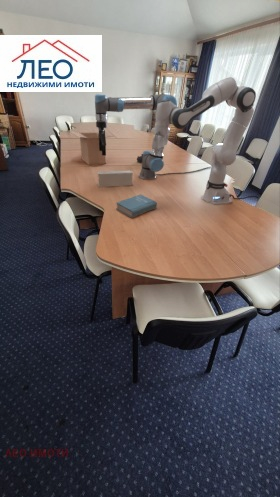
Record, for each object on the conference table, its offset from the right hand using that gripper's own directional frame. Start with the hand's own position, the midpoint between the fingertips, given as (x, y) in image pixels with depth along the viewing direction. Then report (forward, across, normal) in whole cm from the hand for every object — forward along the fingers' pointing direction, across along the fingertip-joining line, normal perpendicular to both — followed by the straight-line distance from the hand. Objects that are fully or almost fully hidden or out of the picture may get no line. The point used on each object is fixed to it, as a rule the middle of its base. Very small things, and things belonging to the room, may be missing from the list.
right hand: (158, 154), depth 146 cm
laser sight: (+33, +87, +42) cm, 102 cm away
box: (+33, +58, +93) cm, 114 cm away
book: (+33, -21, +5) cm, 39 cm away
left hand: (+7, +5, +47) cm, 48 cm away
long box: (+33, +11, +39) cm, 52 cm away
